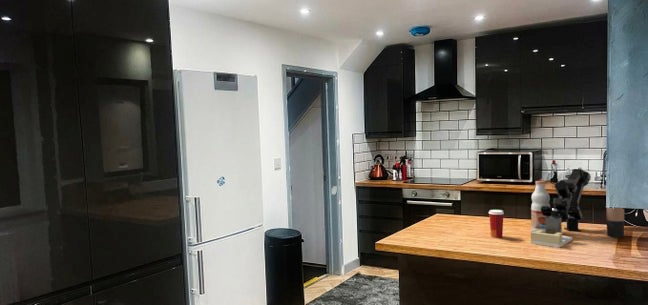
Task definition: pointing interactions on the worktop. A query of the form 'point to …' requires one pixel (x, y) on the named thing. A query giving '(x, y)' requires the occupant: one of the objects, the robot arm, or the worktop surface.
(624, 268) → the worktop surface
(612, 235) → the travel mug
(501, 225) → the paper cup
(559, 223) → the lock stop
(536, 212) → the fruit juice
